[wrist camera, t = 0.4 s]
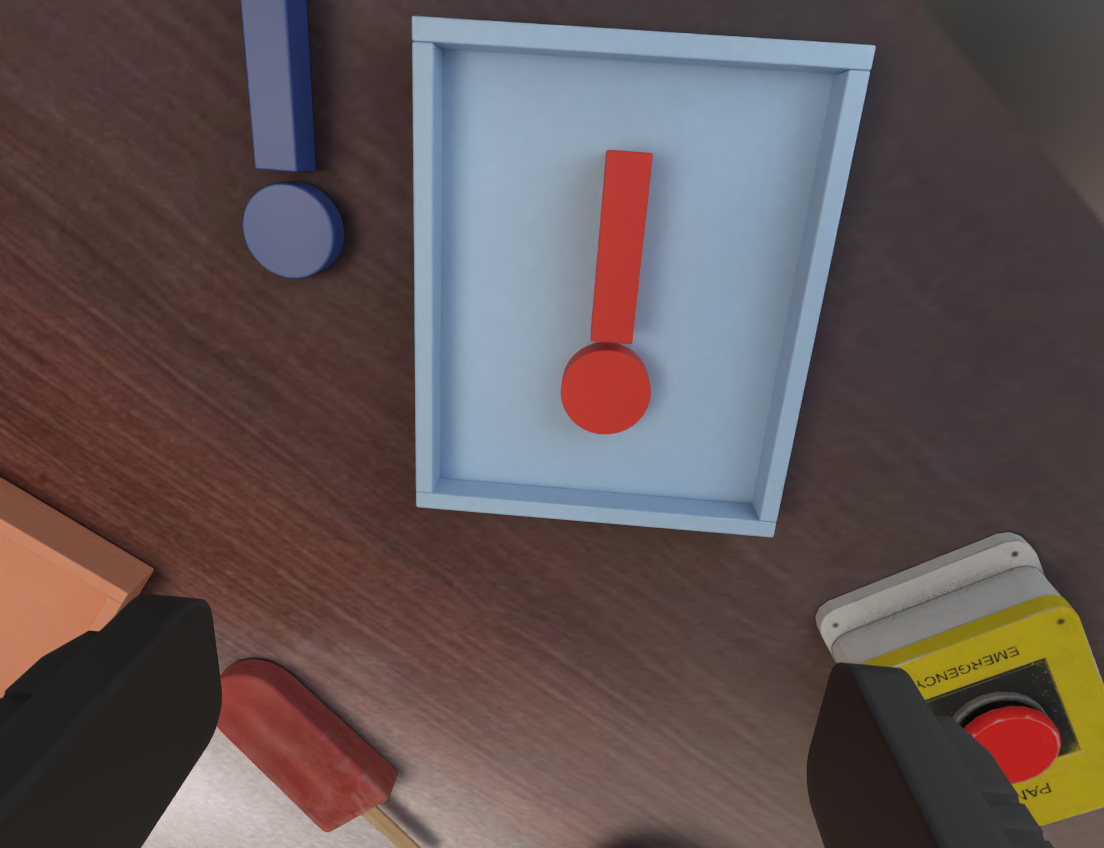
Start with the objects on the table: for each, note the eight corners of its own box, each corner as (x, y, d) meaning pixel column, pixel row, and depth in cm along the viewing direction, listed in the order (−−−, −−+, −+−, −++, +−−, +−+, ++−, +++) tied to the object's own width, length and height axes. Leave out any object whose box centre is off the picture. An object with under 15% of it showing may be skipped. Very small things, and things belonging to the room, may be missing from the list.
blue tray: (425, 26, 24) (411, 15, 22) (853, 53, 23) (876, 45, 21) (426, 485, 30) (415, 507, 28) (762, 514, 29) (773, 538, 28)
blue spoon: (233, -37, 23) (204, -52, 21) (333, -31, 23) (312, -46, 21) (260, 270, 27) (238, 278, 25) (347, 277, 27) (330, 285, 25)
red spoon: (578, 148, 24) (577, 148, 22) (676, 154, 24) (682, 155, 22) (559, 420, 28) (557, 437, 26) (643, 426, 28) (646, 444, 26)
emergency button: (1089, 585, 25) (1184, 854, 29) (1020, 524, 29) (1111, 768, 33) (840, 677, 27) (962, 915, 31) (807, 608, 31) (920, 827, 35)
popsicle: (390, 893, 37) (183, 706, 33) (398, 863, 38) (203, 681, 35) (454, 861, 36) (247, 663, 32) (460, 831, 37) (264, 639, 34)
